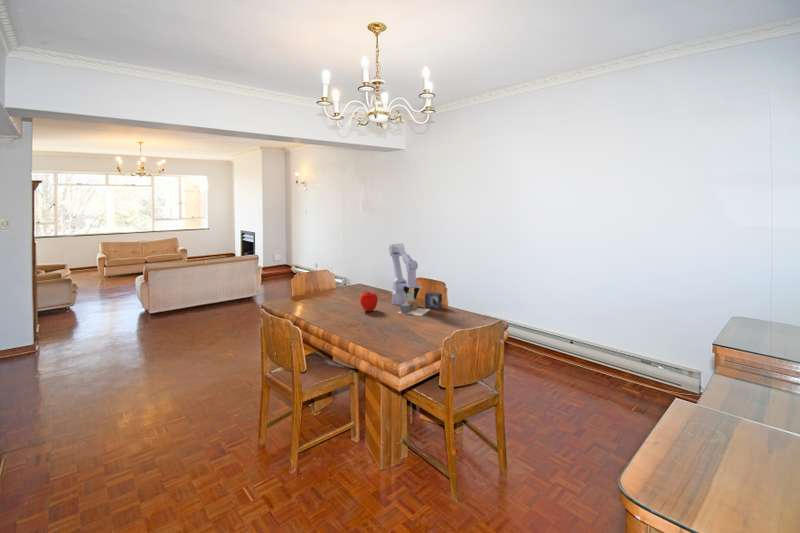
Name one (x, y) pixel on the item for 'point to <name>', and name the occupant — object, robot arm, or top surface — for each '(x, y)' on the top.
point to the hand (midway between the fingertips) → (411, 298)
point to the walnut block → (413, 306)
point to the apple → (368, 301)
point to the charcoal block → (405, 308)
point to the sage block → (410, 296)
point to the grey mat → (417, 311)
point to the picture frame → (433, 300)
